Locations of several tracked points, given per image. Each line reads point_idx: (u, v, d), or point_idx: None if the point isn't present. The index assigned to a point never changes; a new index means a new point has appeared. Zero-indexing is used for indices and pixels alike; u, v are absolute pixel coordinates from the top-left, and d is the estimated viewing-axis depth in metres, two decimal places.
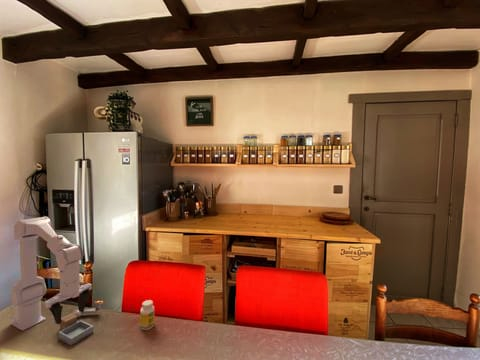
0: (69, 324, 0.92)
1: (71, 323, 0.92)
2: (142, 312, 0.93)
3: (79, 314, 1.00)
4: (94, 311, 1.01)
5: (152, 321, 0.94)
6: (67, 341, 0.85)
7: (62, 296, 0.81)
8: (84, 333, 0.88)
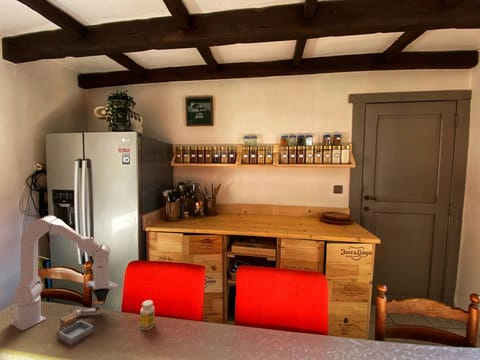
0: (69, 324, 0.92)
1: (71, 323, 0.92)
2: (142, 312, 0.93)
3: (79, 314, 1.00)
4: (94, 311, 1.01)
5: (152, 321, 0.94)
6: (67, 341, 0.85)
7: None
8: (84, 333, 0.88)
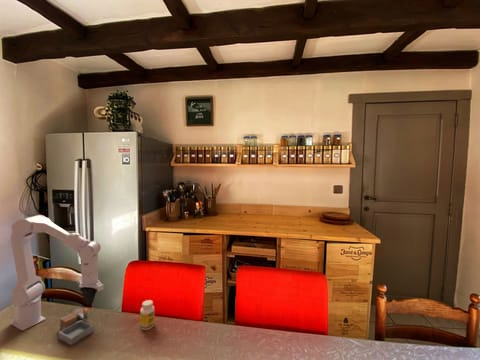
0: (69, 324, 0.92)
1: (71, 323, 0.92)
2: (142, 312, 0.93)
3: (75, 315, 0.99)
4: (82, 318, 0.96)
5: (152, 321, 0.94)
6: (67, 341, 0.85)
7: None
8: (84, 333, 0.88)
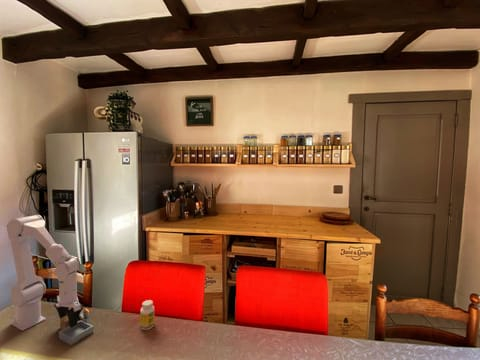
0: None
1: None
2: (142, 312, 0.93)
3: None
4: (82, 318, 0.96)
5: (152, 321, 0.94)
6: (67, 341, 0.85)
7: None
8: (84, 333, 0.88)
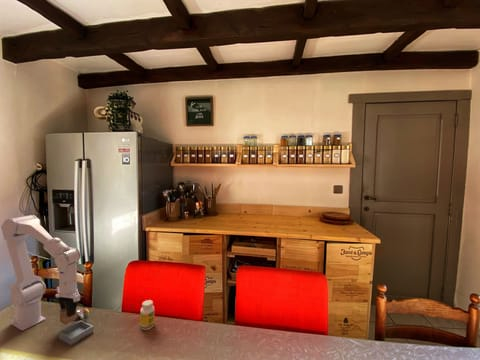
0: None
1: None
2: (142, 312, 0.93)
3: None
4: (82, 318, 0.96)
5: (152, 321, 0.94)
6: (67, 341, 0.85)
7: None
8: (84, 333, 0.88)
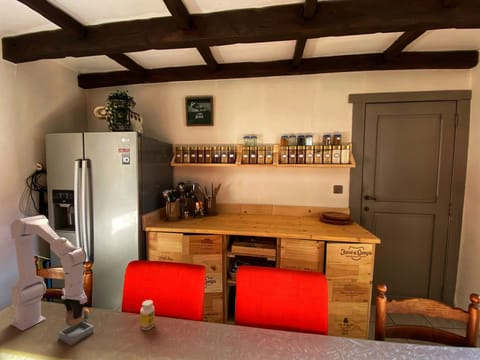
0: None
1: None
2: (142, 312, 0.93)
3: None
4: None
5: (152, 321, 0.94)
6: (67, 341, 0.85)
7: None
8: (84, 333, 0.88)
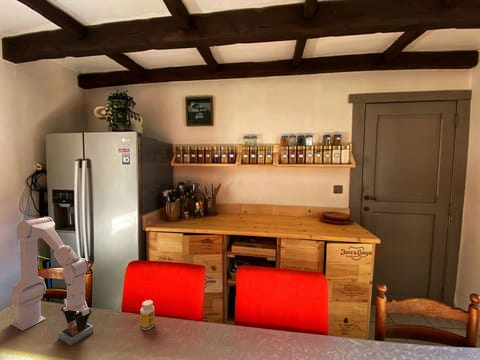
0: None
1: None
2: (142, 312, 0.93)
3: None
4: None
5: (152, 321, 0.94)
6: (67, 341, 0.85)
7: None
8: (84, 333, 0.88)
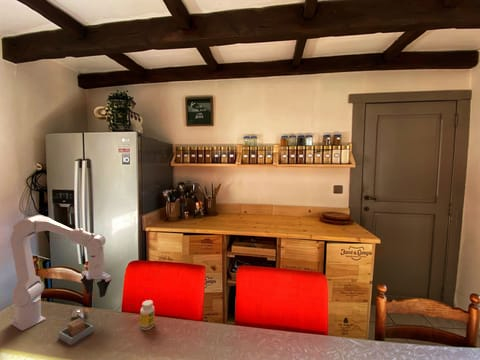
0: (77, 329, 0.88)
1: (79, 328, 0.88)
2: (142, 312, 0.93)
3: (75, 315, 0.99)
4: (82, 318, 0.96)
5: (152, 321, 0.94)
6: (67, 341, 0.85)
7: None
8: (84, 333, 0.88)
